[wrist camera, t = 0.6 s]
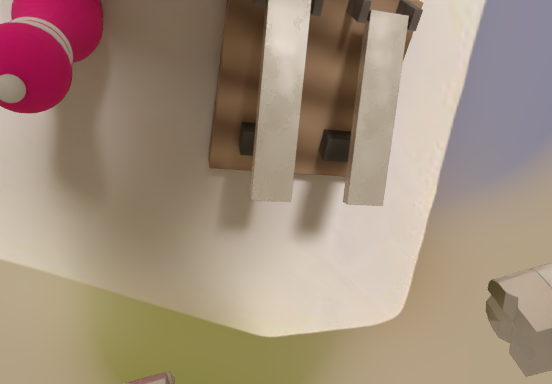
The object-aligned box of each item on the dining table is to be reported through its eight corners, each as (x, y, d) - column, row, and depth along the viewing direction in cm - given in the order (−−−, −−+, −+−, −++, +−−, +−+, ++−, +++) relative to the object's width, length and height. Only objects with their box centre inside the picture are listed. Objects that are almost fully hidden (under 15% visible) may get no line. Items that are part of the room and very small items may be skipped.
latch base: (231, -34, 44) (237, -21, 39) (415, -2, 48) (440, 13, 44) (208, 159, 56) (211, 186, 51) (357, 168, 61) (371, 194, 56)
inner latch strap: (266, -4, 41) (269, -7, 40) (307, 2, 42) (311, 0, 41) (249, 197, 45) (251, 200, 44) (287, 199, 46) (291, 201, 45)
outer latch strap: (365, 12, 44) (371, 9, 43) (402, 17, 45) (408, 15, 44) (342, 201, 47) (347, 204, 46) (377, 203, 48) (382, 206, 47)
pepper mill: (119, 37, 46) (88, 132, 30) (48, 51, 45) (-22, 156, 29) (91, -41, 41) (36, 22, 25) (11, -26, 41) (-93, 49, 25)
